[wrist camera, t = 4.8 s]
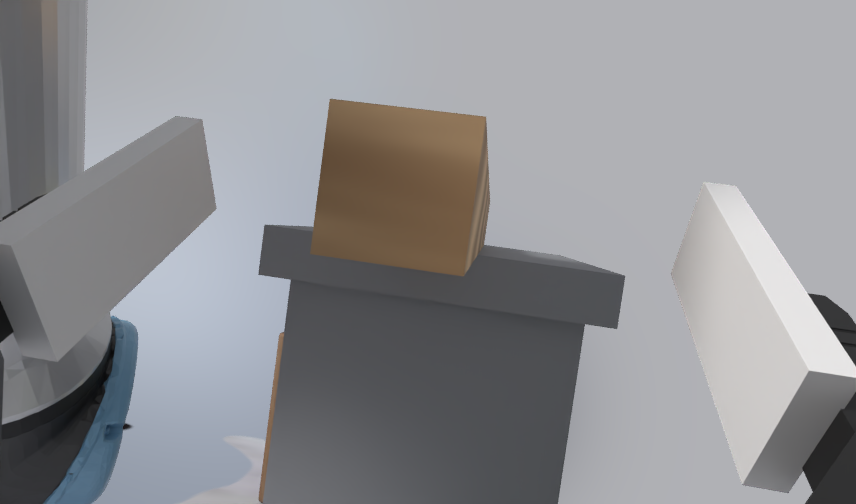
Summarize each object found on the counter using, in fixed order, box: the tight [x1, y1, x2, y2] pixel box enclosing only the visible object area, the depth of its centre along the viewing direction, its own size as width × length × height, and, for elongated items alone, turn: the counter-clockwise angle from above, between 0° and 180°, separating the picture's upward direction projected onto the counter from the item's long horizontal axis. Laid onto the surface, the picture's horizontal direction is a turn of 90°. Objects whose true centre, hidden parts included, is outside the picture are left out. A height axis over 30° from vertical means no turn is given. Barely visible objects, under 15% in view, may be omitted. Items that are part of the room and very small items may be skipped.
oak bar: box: [310, 99, 490, 276], centre depth 25 cm, size 28×3×3 cm, turn 174°
